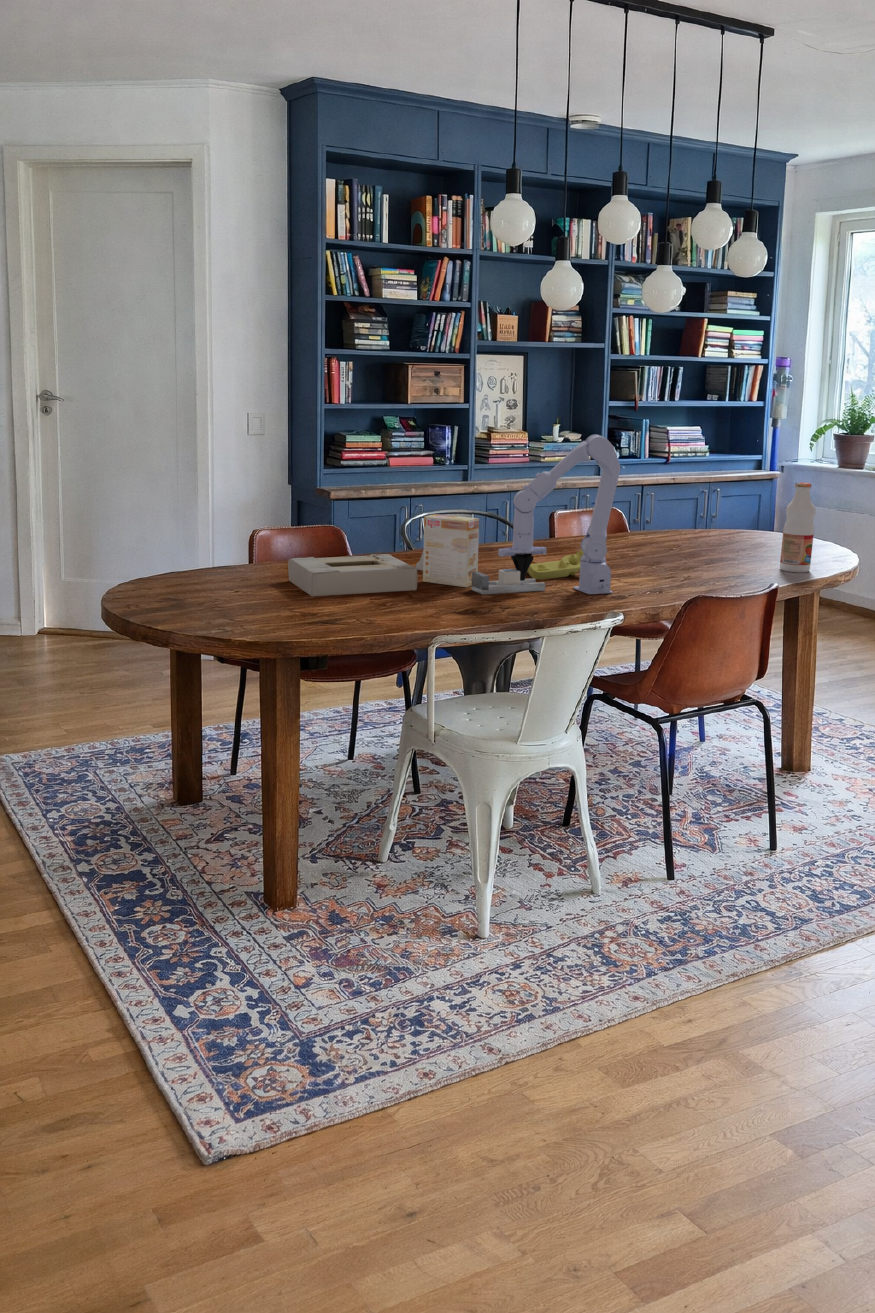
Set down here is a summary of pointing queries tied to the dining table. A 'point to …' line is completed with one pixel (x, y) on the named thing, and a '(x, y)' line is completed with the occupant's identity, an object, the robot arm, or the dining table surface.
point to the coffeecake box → (450, 549)
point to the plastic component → (556, 567)
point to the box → (352, 575)
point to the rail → (491, 587)
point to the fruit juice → (798, 531)
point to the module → (509, 577)
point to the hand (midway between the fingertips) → (521, 579)
